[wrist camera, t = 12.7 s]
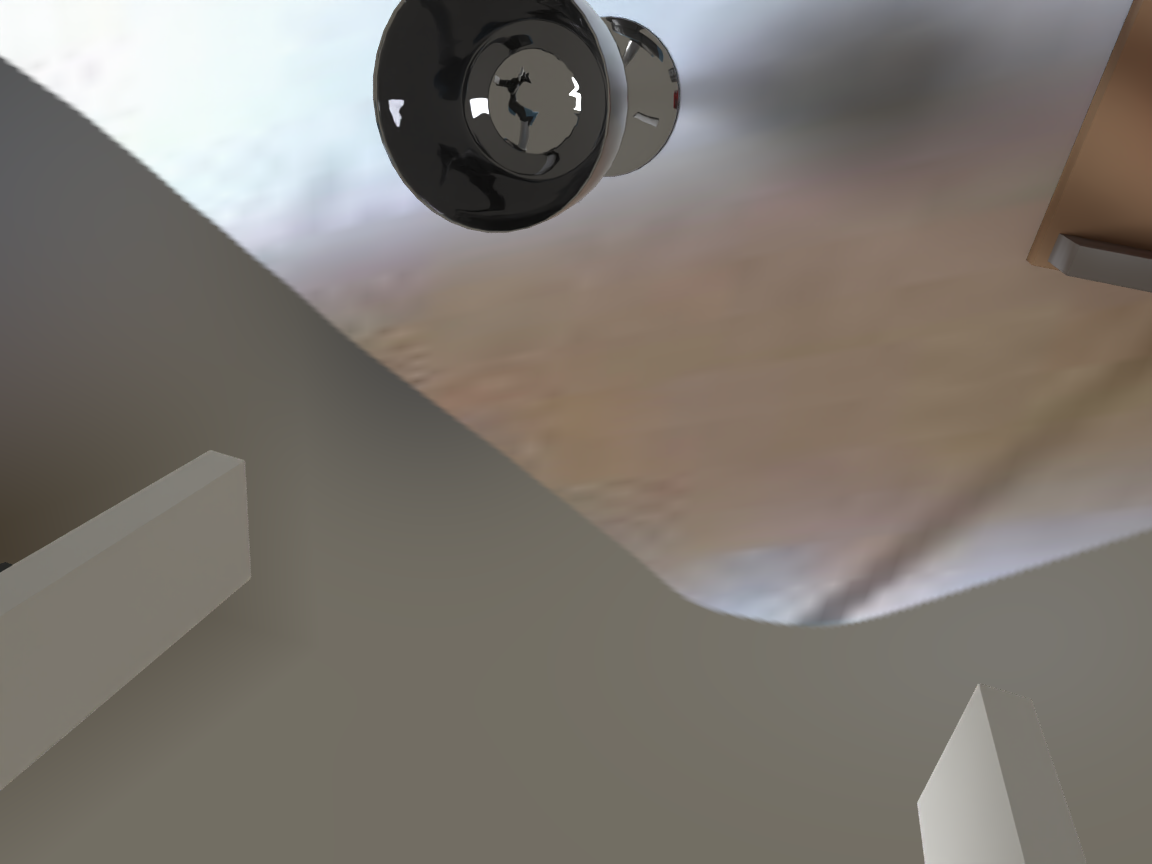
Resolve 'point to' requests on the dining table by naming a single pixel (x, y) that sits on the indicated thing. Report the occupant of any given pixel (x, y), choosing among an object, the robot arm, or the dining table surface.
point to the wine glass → (517, 105)
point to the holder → (1108, 174)
